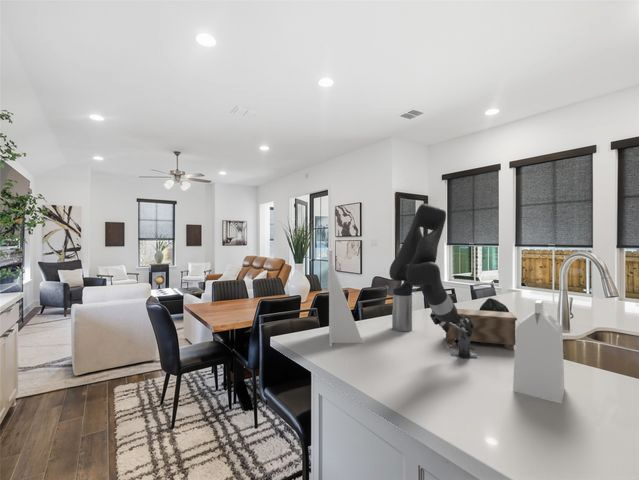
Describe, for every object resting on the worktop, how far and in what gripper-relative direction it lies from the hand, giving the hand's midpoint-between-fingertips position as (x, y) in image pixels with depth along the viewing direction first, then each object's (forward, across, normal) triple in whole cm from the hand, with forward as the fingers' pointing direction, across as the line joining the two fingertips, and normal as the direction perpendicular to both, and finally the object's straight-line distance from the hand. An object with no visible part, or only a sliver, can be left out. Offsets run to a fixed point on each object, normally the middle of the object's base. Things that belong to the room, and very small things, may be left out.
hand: (458, 332), depth 122 cm
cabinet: (+25, +4, -11) cm, 28 cm away
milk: (+3, -28, +11) cm, 30 cm away
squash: (+51, +12, -37) cm, 65 cm away
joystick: (+13, +2, +1) cm, 13 cm away
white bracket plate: (-3, +45, +17) cm, 48 cm away
